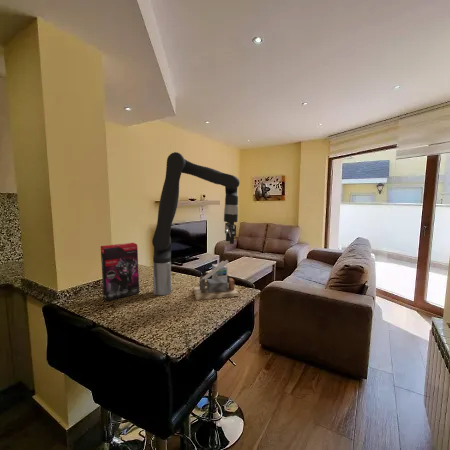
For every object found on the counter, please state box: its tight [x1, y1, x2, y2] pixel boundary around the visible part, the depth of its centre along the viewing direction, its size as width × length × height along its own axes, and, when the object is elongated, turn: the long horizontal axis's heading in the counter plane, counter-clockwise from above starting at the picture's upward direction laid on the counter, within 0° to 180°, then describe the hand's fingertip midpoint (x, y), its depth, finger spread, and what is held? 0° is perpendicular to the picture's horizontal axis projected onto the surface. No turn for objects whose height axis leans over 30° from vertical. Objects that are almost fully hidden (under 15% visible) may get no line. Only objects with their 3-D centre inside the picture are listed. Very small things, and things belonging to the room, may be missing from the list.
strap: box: [199, 259, 230, 281], centre depth 135 cm, size 18×4×2 cm
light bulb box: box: [211, 263, 228, 282], centre depth 154 cm, size 11×7×11 cm, turn 22°
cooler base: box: [193, 275, 239, 301], centre depth 136 cm, size 22×14×9 cm, turn 103°
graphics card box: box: [100, 242, 140, 302], centre depth 130 cm, size 17×7×27 cm, turn 132°
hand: (229, 242), depth 138 cm, fingers open, 8 cm apart
